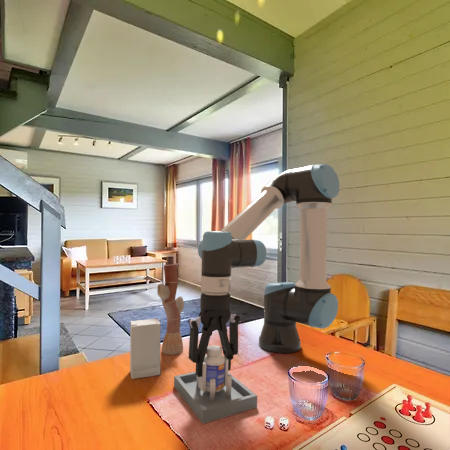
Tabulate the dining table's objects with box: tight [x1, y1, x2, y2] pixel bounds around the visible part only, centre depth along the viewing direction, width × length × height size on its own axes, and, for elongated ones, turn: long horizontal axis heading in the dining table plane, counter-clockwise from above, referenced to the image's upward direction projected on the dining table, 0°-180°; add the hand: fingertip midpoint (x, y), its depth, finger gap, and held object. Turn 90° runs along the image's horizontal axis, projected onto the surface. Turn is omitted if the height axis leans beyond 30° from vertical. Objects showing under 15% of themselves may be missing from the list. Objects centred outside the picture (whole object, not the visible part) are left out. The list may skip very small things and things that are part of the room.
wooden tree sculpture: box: [156, 263, 185, 356], centre depth 106 cm, size 10×7×30 cm
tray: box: [173, 371, 258, 424], centre depth 77 cm, size 18×14×6 cm
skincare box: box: [129, 318, 162, 380], centre depth 89 cm, size 8×6×15 cm
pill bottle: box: [204, 344, 225, 392], centre depth 77 cm, size 5×5×10 cm
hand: (213, 386), depth 77 cm, fingers closed on pill bottle, 5 cm apart
